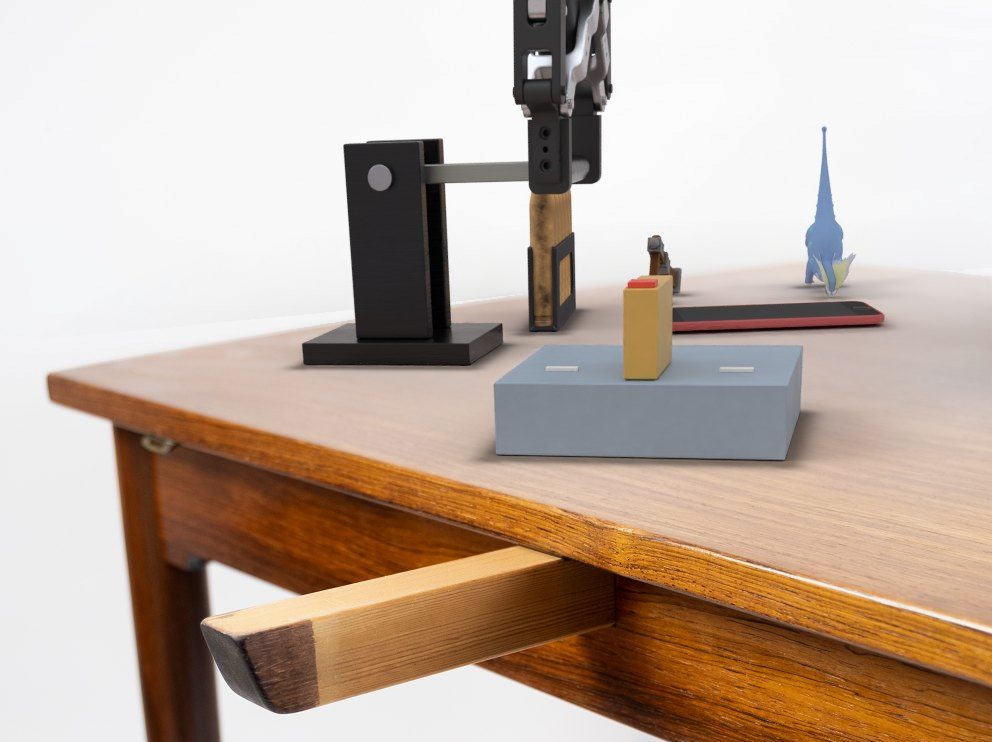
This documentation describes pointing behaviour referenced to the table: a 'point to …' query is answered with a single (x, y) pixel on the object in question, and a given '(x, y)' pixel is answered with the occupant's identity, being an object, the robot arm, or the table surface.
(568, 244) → the ammunition clip
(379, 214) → the lever stand
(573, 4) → the robot arm
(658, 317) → the yellow block
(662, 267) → the wooden post with brackets
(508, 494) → the table surface
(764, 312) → the smartphone
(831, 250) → the dinosaur figurine
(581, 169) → the handle lever
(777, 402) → the switch base
